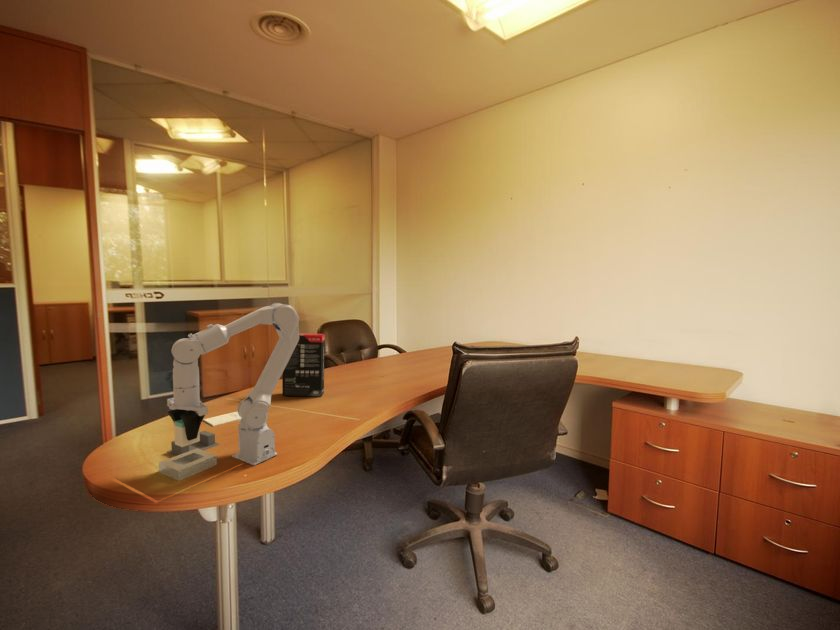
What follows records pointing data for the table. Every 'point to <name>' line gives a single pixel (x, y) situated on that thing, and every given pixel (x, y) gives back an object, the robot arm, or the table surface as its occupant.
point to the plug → (183, 435)
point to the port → (187, 464)
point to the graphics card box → (305, 367)
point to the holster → (195, 444)
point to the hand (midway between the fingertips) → (187, 437)
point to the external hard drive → (223, 419)
